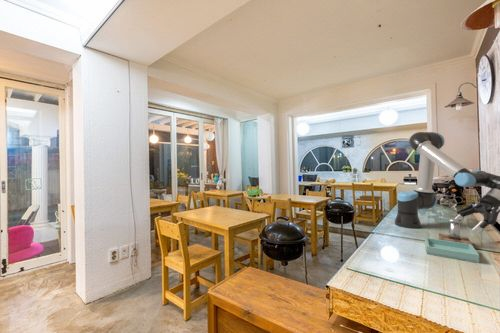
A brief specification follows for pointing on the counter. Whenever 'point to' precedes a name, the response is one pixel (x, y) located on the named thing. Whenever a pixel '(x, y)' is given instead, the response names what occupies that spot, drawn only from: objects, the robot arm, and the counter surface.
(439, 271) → the counter surface
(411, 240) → the counter surface
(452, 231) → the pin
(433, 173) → the robot arm
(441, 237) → the holder
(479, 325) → the counter surface
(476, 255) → the tray
